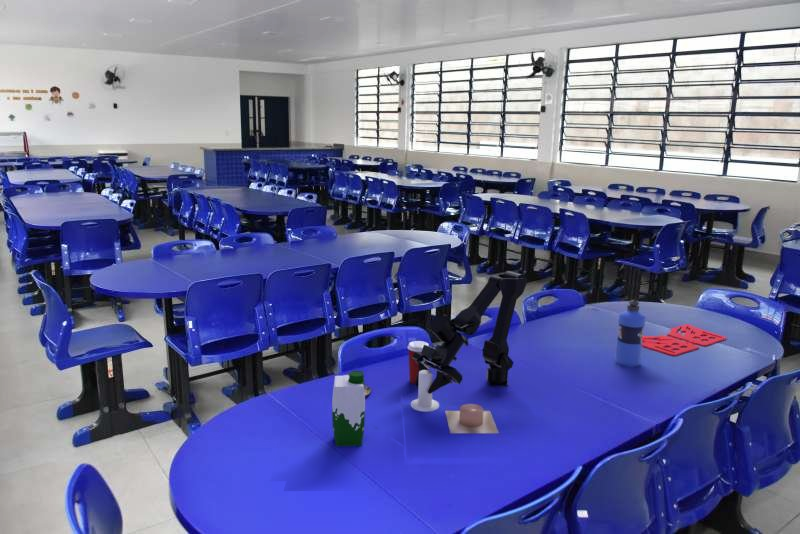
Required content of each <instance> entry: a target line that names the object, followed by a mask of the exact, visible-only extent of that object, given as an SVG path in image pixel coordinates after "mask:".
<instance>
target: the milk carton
mask: <svg viewBox="0 0 800 534" xmlns="http://www.w3.org/2000/svg"><path fill="white" fill-rule="evenodd" d="M348 374H349V375H348ZM348 374H344V375H335V376H334V381H333V389H332V396H331V397H332V399H331V402H332V403H331V405H332V406H331V408H332V412H331V413H332V415H331V417H332V420H331V421H332V430H333V436H334V442H335V446H336V447H359V446H360V447H361V446H363V439H364V432H365V425H366V424H365V423H366V422H365V421H366V396H365V395H366V394H365V392H364V384H365V373H364V372H363V371H361V370H352V371H350V372H348Z"/></svg>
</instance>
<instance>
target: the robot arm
mask: <svg viewBox="0 0 800 534" xmlns="http://www.w3.org/2000/svg"><path fill="white" fill-rule="evenodd" d="M527 282H528V281H527V278H526V276H525V274H522V273H518V272H514V271H509V270H506V271H505V272H504V273H498V274H496V275H491V276H490V277H489V278H488V281H487V283H486V284H485V286H484V287H483V288H482V290H481V291H480V292H479V293H478V295H477V296H476V297H475V298H474V299H473V301H472V303H471V304H470V305H469V306H468V307H466V308H464V309H462V310H461V311H460V312H459V313H458V314H457V315H456V316H455V317H453V318H450V317H449V316H448V315H446V314H442V315H441V316H440V317H437V318H435V319H434V320H432V321H431V323H430V327H429V328H430V329H429V330H430V331H431V332H432V333H433V334H434V335H435V336H436V337H437V339H439V341H441V343H440V345H439V344H437V345H435V347H434V346H430V345H429V346H427V345H424V346H423V349H422V351H421V353H420V352H415V354H414V355H413V356H412V358H413V359H414V360H415V361H416V363H417V364H418V367H419V369H418V374H417V378H416V382H415V384H414V386H415V388H418V386H419V371H421V370H429V371H431V370H430V368H432V369H434V370H436V377H435V379H433V383H432V385H431V386H430V388H429V390H428V393H429V394H431V393H432V394H433V393H434V392H437V390H439V389H441V388H443V387H444V386H446V385H448V384H452V383H456V385H457V384H458V385H461V382H462V381H463V374H462V373H461V372H460V371H458V369H457V368H455V367H453V366H451V363H452V362H453V361H454V362H455V361H456V360H458V358H457V357H456V356H457V354H458V353H459V352H460V350H461V348H462V347H463V345H464V346H467V347H468V346H469V341H468V337H467V336H473V335H474V334H476V333H477V331H478V329H479V327H480V326H481V323H482V317H483V315H484V313H485V312H486V311H487V309H488V308H489V307H490V305H491V304H492V303H493V301H494V300H495V298H496V297H497V296H498V294H499V293H500V292H501V293H500V294H501V300H500V305H499V308H498V311H497V312H498V313H497V317H496V321H495V325H494V328H493V332H492V336H491V337H490V338H489V339H488V340H487V339H486V340H485V341H484V342H483V343H484V344H483V347H482V350H481V351H482V357H483V360H484V363H485V364H486V365H488V367H487V368H486V378H485V379H486V381H487V382H488V384H489V386H499V387H500V386H505V387H506V386H508V387H509V382H508V378H509V377H508V375H509V374H508V373H509V371H510V369H512V368H513V366H514V361H513V360H512V358H511V357H509V351H510V350H509V349H510V348H509V344H508V341H507V340H508V335H509V332H510V328H511V324H512V319H513V317H514V316H513V315H514V311H515V308H516V303H517V300H518V299H519V298H520V297H521V296H522V295H523V294H524V291H525V289H526V286H527ZM463 334H464V335H465V336H464V335H463Z"/></svg>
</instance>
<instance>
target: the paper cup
mask: <svg viewBox="0 0 800 534" xmlns="http://www.w3.org/2000/svg"><path fill="white" fill-rule="evenodd" d="M424 345H427V346H430V345H429V343H428V342H426V341H422V340H414V341H411V342H409V343H408V345H407V349H408V371H409V372H408V373H409V375H408V376H409V382H410V383H411V384H413V385H415V382H416V378H417V374H418V369H419V367H418V364H417V363H416V361H415V360H414V359H413V358H412V356H413V355H414V354H415V352H420V353H421V351H422V349H423V346H424Z"/></svg>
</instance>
